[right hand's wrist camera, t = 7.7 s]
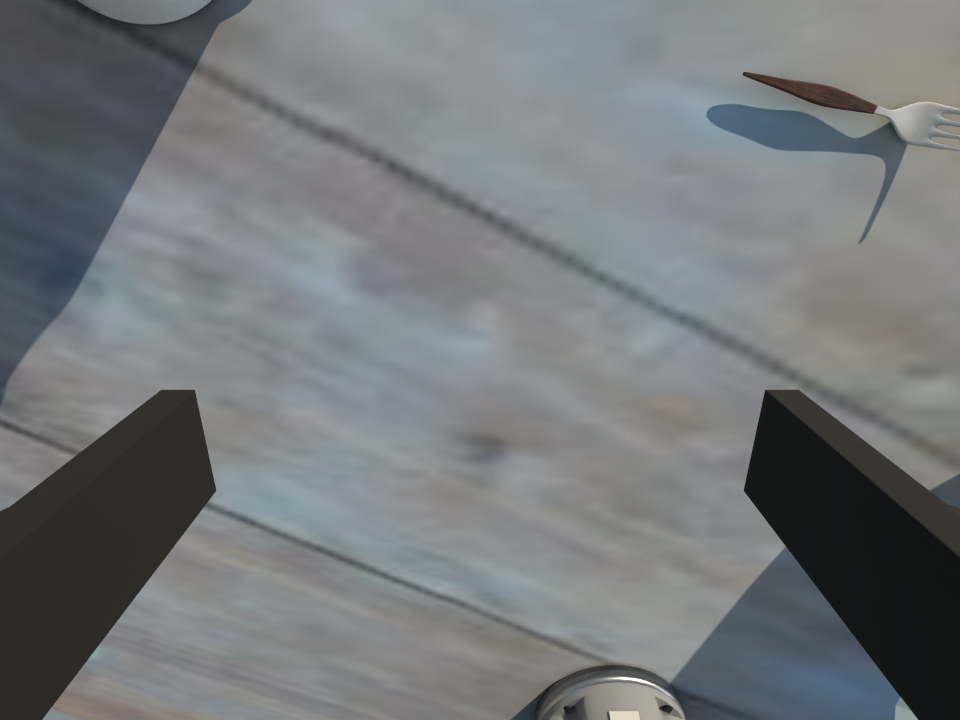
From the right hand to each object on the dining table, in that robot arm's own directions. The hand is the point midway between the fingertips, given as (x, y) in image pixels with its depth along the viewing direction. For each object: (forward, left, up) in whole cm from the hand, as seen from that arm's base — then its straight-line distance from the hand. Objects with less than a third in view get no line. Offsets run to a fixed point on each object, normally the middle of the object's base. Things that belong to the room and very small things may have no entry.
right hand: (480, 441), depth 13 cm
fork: (+9, -24, -28) cm, 38 cm away
